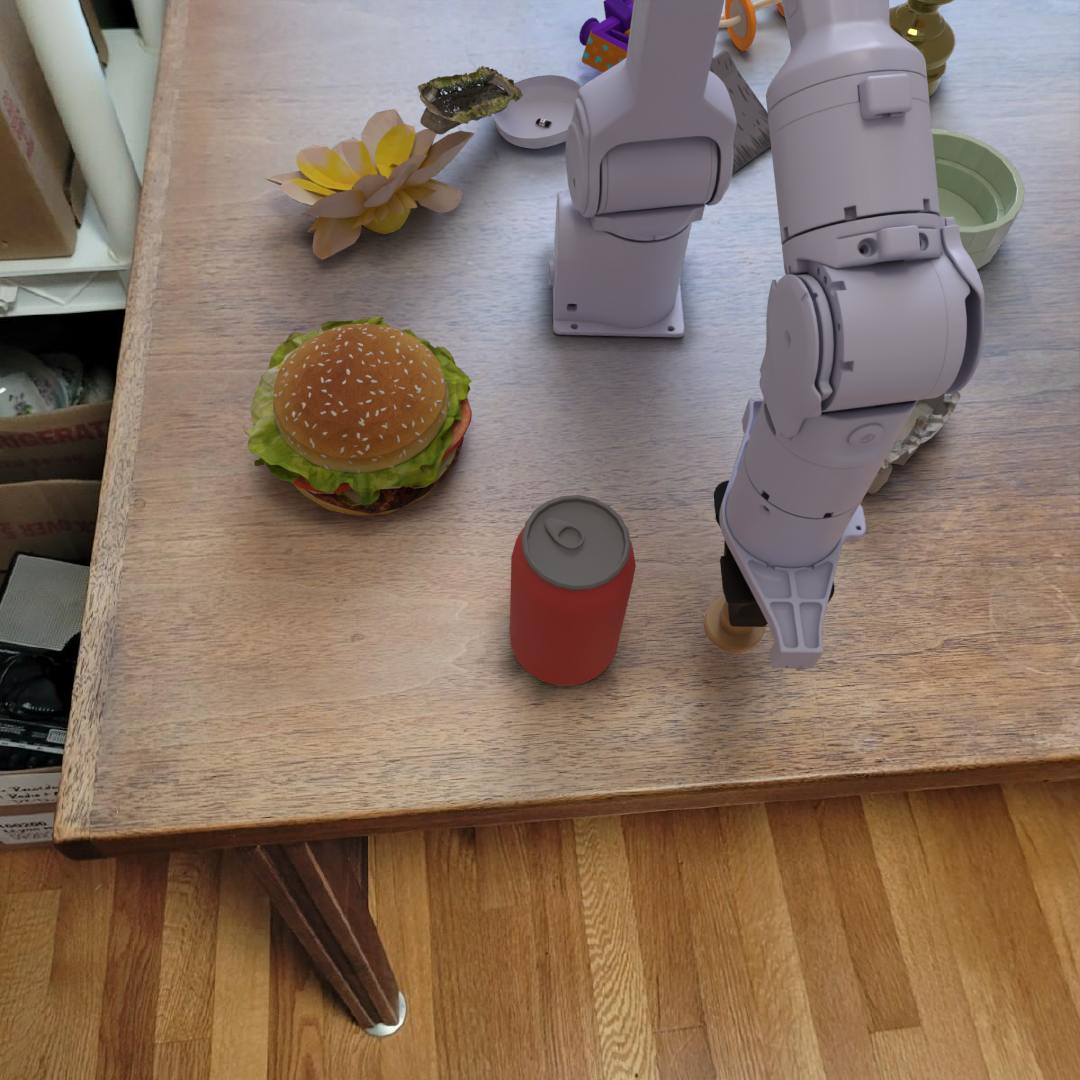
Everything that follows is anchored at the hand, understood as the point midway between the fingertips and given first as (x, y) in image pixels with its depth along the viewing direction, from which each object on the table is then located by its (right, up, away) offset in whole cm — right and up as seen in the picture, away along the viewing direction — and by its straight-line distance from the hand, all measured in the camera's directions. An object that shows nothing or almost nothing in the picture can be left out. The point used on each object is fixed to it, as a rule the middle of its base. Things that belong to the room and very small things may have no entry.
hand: (745, 600), depth 59 cm
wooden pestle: (0, -2, +3) cm, 3 cm away
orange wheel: (-1, +49, +32) cm, 59 cm away
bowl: (+19, +28, +23) cm, 41 cm away
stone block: (-15, +37, +19) cm, 44 cm away
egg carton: (+11, +11, +13) cm, 20 cm away
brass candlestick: (+20, +44, +33) cm, 58 cm away
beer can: (-10, -3, +5) cm, 11 cm away
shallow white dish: (-11, +38, +28) cm, 48 cm away
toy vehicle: (-1, +41, +31) cm, 52 cm away
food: (-24, +10, +11) cm, 28 cm away
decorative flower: (-24, +29, +22) cm, 44 cm away
